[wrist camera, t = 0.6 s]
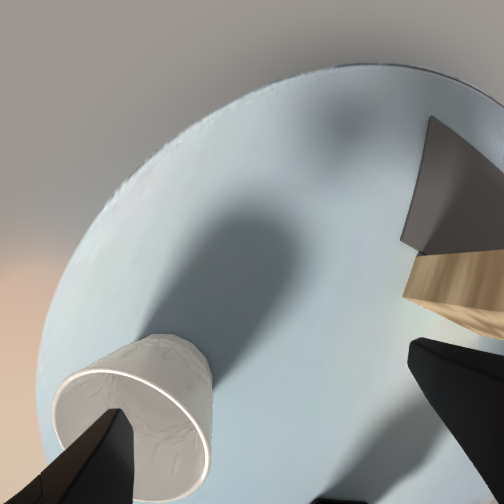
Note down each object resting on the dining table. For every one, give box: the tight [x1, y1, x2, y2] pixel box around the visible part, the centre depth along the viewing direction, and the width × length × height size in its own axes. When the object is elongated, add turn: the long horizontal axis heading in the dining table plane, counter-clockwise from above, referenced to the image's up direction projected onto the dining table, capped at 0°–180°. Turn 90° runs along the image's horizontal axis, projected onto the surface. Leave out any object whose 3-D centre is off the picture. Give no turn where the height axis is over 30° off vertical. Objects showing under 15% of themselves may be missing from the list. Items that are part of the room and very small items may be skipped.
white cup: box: [52, 334, 213, 503], centre depth 15 cm, size 8×8×10 cm
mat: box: [400, 116, 504, 255], centre depth 22 cm, size 15×13×1 cm
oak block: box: [402, 249, 504, 341], centre depth 16 cm, size 11×4×12 cm, turn 66°
